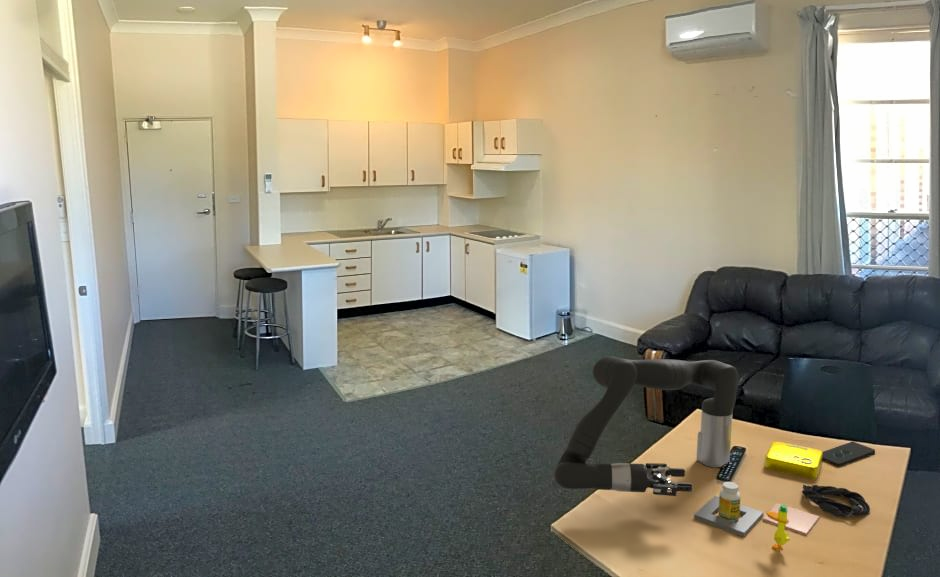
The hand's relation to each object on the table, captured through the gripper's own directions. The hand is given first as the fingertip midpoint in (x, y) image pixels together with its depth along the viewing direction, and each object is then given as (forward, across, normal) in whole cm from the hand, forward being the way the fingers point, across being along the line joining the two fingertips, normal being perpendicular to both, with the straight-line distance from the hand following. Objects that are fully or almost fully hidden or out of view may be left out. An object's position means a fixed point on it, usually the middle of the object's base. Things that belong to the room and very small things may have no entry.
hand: (688, 479), depth 182 cm
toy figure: (+19, -14, +11) cm, 26 cm away
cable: (+43, +10, +11) cm, 45 cm away
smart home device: (+60, +42, +10) cm, 74 cm away
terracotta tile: (+28, 0, +10) cm, 30 cm away
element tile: (+41, +34, +10) cm, 54 cm away
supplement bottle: (+12, 0, +11) cm, 16 cm away
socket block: (+12, 0, +11) cm, 16 cm away
